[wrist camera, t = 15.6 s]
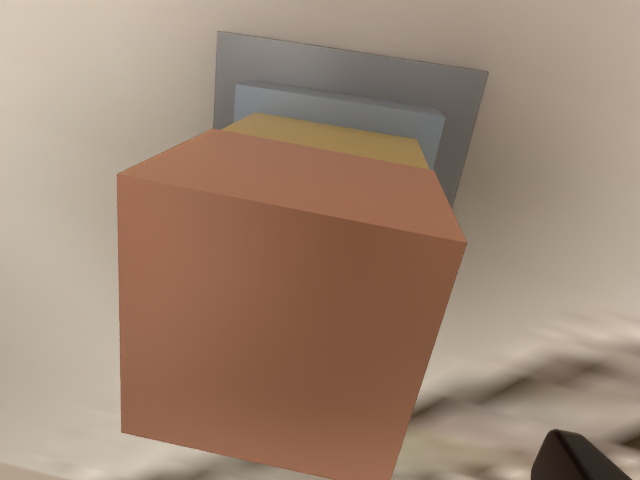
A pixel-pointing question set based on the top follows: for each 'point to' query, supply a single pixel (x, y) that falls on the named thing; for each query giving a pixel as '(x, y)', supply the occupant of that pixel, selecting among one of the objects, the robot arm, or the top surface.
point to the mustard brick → (332, 138)
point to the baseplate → (352, 95)
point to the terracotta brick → (280, 301)
